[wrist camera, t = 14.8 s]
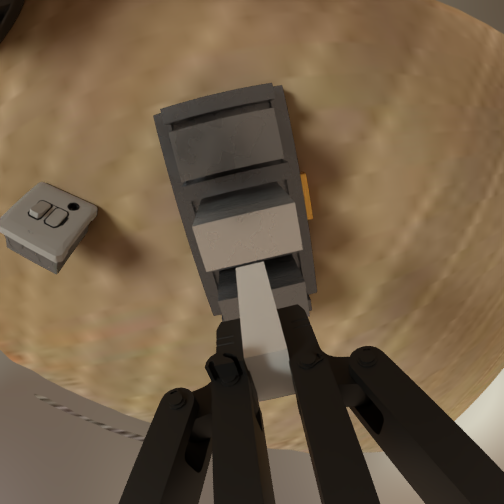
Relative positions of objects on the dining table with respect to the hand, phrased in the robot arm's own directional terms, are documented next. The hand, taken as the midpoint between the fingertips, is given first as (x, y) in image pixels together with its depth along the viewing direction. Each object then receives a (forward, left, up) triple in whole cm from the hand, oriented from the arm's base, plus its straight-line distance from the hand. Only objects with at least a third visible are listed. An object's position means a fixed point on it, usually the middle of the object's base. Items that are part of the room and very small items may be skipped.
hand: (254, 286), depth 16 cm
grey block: (0, 0, -17) cm, 17 cm away
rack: (0, 0, -17) cm, 17 cm away
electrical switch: (-5, -21, -18) cm, 28 cm away
